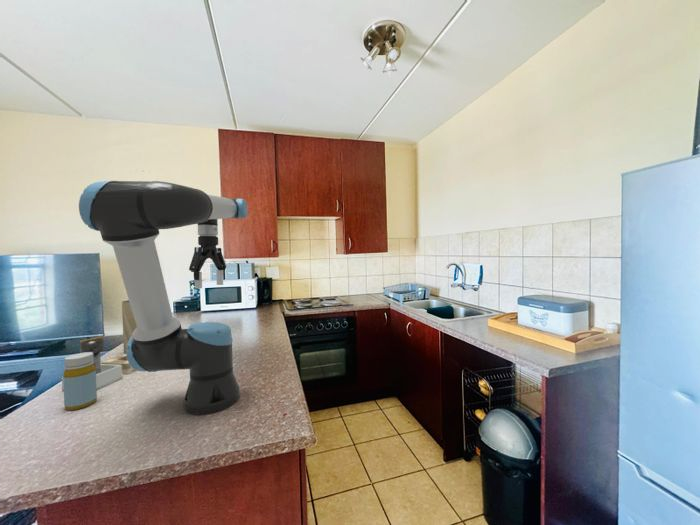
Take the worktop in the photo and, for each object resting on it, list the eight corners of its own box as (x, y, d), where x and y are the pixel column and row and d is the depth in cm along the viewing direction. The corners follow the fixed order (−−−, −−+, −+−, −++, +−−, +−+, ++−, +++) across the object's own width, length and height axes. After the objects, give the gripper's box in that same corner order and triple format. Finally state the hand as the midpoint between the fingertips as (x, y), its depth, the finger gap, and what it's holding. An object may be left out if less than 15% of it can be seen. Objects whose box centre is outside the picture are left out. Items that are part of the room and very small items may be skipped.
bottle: (94, 396, 89) (92, 350, 88) (98, 403, 84) (96, 354, 84) (63, 406, 83) (61, 356, 83) (66, 414, 79) (64, 361, 78)
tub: (89, 393, 91) (89, 378, 91) (62, 391, 93) (61, 376, 93) (122, 378, 102) (121, 365, 102) (97, 377, 104) (96, 363, 104)
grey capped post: (86, 388, 93) (83, 342, 93) (79, 384, 96) (76, 340, 96) (108, 381, 98) (106, 337, 98) (101, 377, 101) (99, 335, 101)
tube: (133, 359, 122) (131, 302, 121) (118, 357, 125) (116, 302, 124) (156, 351, 131) (154, 299, 131) (141, 349, 134) (139, 298, 134)
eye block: (127, 374, 105) (127, 363, 105) (101, 372, 107) (101, 362, 107) (155, 362, 117) (154, 353, 117) (130, 361, 119) (130, 352, 119)
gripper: (194, 233, 103) (196, 290, 104) (233, 237, 128) (235, 283, 128) (177, 234, 105) (179, 290, 105) (218, 238, 129) (220, 283, 130)
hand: (209, 286), depth 117 cm, fingers open, 13 cm apart
